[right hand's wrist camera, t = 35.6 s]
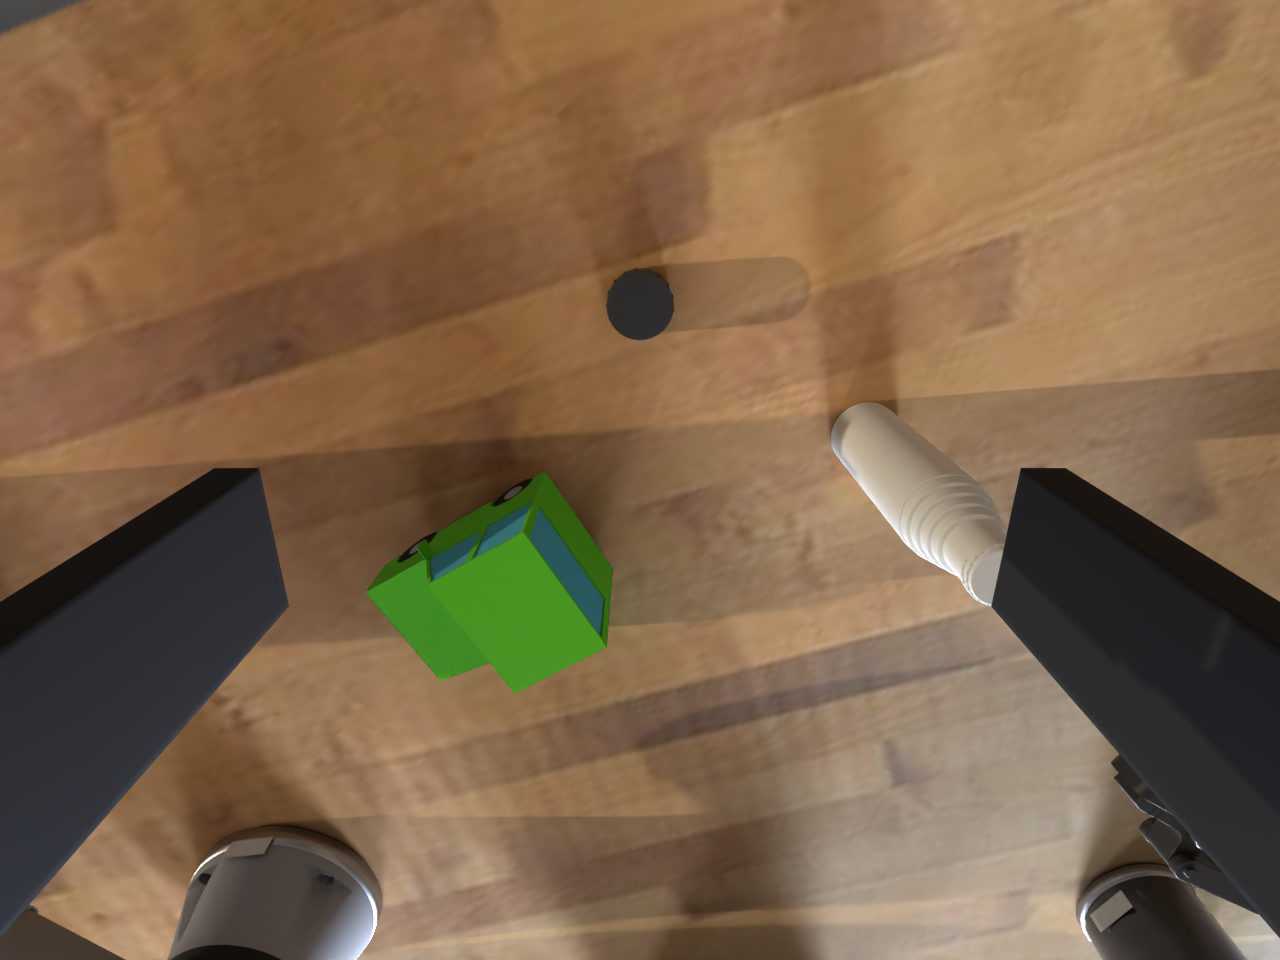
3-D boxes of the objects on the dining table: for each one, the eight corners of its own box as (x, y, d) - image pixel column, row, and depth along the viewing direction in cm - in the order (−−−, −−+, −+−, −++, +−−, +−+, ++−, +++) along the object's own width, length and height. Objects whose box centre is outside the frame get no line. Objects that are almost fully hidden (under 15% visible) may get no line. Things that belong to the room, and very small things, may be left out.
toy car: (374, 545, 47) (309, 629, 38) (538, 450, 44) (511, 516, 35) (463, 654, 50) (424, 756, 41) (621, 571, 48) (616, 660, 38)
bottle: (831, 404, 44) (952, 533, 27) (900, 398, 43) (1066, 524, 26) (830, 468, 45) (944, 628, 28) (896, 463, 45) (1051, 620, 28)
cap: (608, 335, 42) (607, 342, 40) (605, 268, 41) (604, 271, 39) (673, 333, 42) (674, 340, 40) (672, 266, 40) (673, 269, 39)
